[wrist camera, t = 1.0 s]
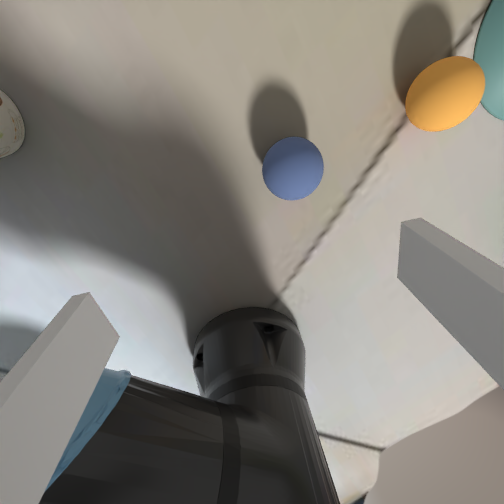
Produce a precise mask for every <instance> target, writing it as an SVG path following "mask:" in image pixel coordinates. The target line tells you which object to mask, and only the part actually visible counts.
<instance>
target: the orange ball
mask: <svg viewBox="0 0 504 504" xmlns="http://www.w3.org/2000/svg"><path fill="white" fill-rule="evenodd" d="M484 90H485V76H484V72H483V70H482V68H481V67H480V66H479V64H478V63H476V62H475V61H474V60H472V59H470V58H466V57H461V56H453V57H447V58H444V59H441V60H439V61H436V62H434V63H433V64H431V65H429V66H428V67H427V68H425V69H424V70H423V71H422V72H421V73H420V74H419V75H418V76H417V77H416V79H415V80H414V81H413V83H412V84H411V86H410V88H409V90H408V93H407V96H406V102H405V109H406V114H407V116H408V118H409V120H410V121H411V123H412V124H413V125H415V126H416V127H417V128H419V129H422V130H425V131H442V130H446V129H449V128H451V127H454V126H456V125H457V124H459V123H461V122H462V121H464V120H465V119H466V118H467V117H468V116H469V115H470V114H471V113H472V112H473V111H474V110H475V109H476V107H477V106H478V104H479V102H480V101H481V99H482V96H483V94H484Z"/></svg>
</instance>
